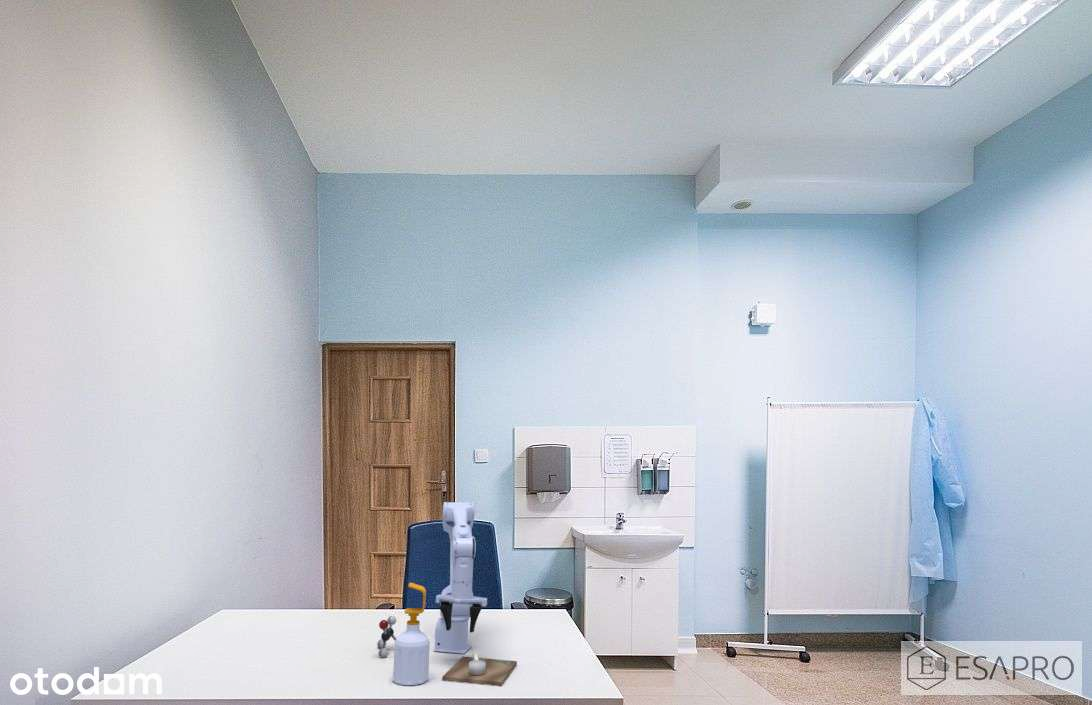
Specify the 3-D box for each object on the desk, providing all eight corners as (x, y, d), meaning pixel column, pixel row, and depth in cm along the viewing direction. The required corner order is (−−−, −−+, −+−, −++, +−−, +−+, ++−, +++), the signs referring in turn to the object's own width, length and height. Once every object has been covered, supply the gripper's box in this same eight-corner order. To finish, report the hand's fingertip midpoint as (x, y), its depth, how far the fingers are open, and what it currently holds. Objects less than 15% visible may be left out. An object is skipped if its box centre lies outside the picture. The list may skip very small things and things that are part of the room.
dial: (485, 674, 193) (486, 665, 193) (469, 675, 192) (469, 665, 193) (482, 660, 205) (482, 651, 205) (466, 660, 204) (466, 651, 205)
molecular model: (405, 648, 219) (407, 611, 220) (395, 660, 207) (397, 621, 208) (378, 646, 219) (380, 610, 220) (366, 659, 207) (369, 620, 208)
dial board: (442, 680, 191) (442, 675, 191) (462, 659, 209) (462, 655, 209) (501, 686, 188) (501, 681, 188) (516, 664, 206) (516, 660, 206)
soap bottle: (395, 674, 195) (399, 580, 198) (429, 674, 196) (433, 580, 198) (390, 686, 186) (395, 587, 189) (426, 686, 187) (431, 587, 189)
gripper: (433, 582, 204) (430, 632, 202) (483, 585, 201) (481, 636, 200) (441, 577, 211) (439, 625, 209) (489, 580, 208) (488, 629, 207)
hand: (460, 630), depth 205 cm, fingers open, 6 cm apart
